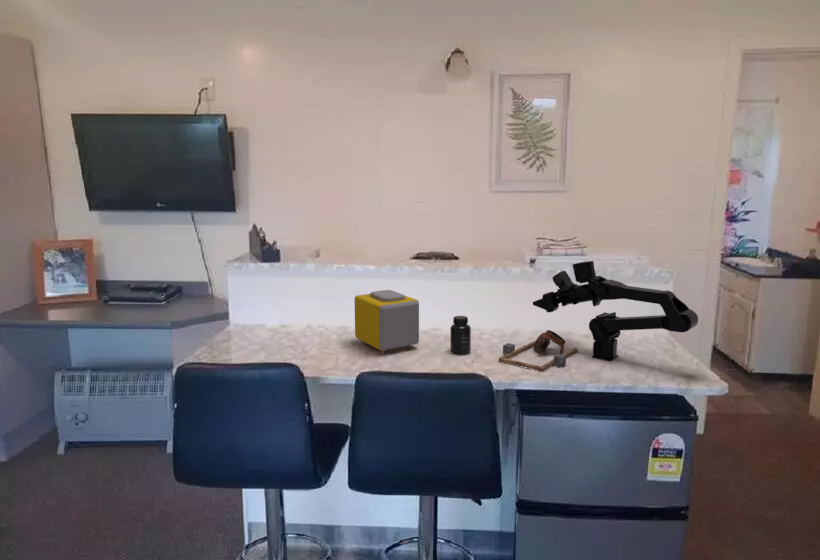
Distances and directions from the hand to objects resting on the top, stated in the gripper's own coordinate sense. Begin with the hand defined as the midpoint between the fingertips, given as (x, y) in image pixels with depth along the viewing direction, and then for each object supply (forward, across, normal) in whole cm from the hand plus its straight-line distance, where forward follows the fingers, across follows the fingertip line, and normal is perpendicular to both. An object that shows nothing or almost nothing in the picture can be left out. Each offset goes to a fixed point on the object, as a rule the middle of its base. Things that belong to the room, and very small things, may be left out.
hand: (539, 300), depth 209 cm
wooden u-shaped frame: (-4, +15, +16) cm, 23 cm away
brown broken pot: (-3, +9, +17) cm, 19 cm away
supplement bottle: (+17, +28, +9) cm, 34 cm away
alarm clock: (+40, +39, +1) cm, 56 cm away
